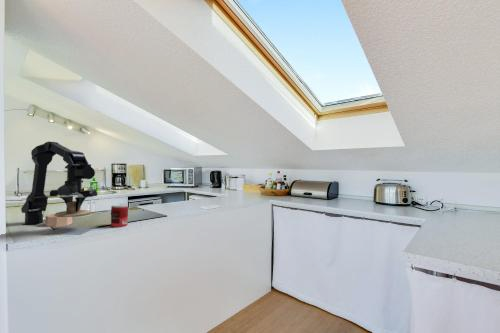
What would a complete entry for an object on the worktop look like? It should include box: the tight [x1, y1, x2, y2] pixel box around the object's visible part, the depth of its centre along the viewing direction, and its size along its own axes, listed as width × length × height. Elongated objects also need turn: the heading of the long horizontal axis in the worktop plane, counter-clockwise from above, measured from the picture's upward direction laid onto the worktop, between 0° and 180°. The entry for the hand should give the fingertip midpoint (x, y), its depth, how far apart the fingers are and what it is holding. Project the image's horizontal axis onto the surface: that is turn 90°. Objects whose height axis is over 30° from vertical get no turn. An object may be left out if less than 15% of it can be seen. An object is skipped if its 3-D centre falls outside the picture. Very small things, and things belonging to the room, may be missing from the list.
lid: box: [54, 200, 92, 218], centre depth 121 cm, size 14×14×6 cm
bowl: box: [44, 213, 73, 228], centre depth 133 cm, size 10×10×5 cm
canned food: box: [110, 203, 129, 228], centre depth 133 cm, size 8×8×11 cm
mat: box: [42, 225, 100, 236], centre depth 122 cm, size 16×16×1 cm
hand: (73, 211), depth 121 cm, fingers closed on lid, 3 cm apart
